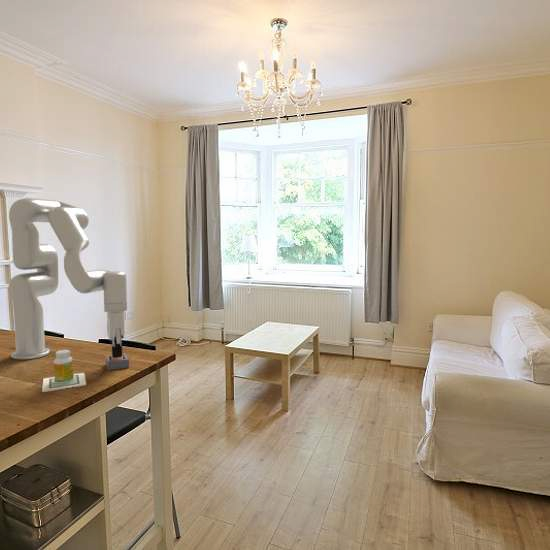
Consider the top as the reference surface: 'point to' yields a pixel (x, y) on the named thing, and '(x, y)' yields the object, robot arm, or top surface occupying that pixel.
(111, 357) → the button
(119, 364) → the button base
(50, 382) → the cream and green mat
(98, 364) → the top surface
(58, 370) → the supplement bottle
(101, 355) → the top surface
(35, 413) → the top surface
